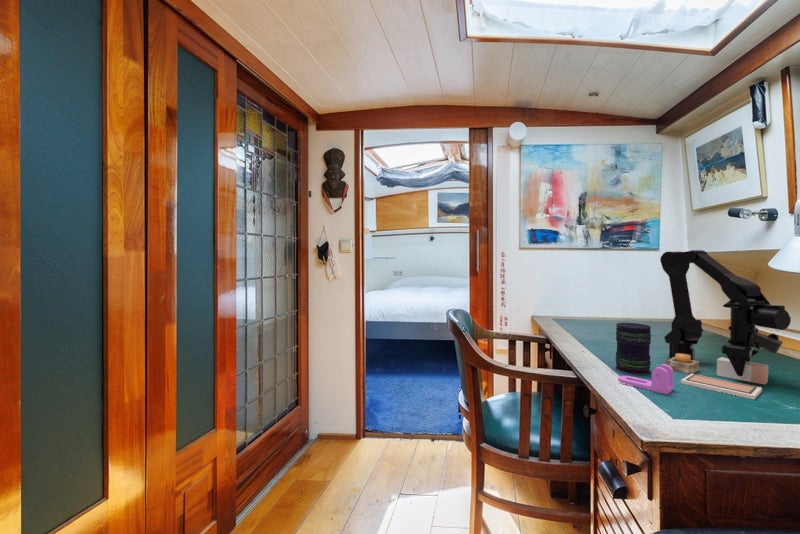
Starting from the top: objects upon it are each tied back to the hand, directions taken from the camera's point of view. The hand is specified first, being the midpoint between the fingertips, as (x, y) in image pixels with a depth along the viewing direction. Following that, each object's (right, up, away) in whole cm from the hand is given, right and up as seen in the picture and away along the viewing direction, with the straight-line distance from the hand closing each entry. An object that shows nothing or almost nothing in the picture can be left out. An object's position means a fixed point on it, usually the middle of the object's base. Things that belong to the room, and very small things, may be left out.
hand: (741, 374), depth 115 cm
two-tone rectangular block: (0, -1, 0) cm, 1 cm away
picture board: (-13, -2, -8) cm, 15 cm away
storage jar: (-28, -1, +9) cm, 29 cm away
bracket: (-34, -2, -6) cm, 35 cm away
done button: (-11, +1, +9) cm, 14 cm away
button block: (-11, -1, +9) cm, 14 cm away
